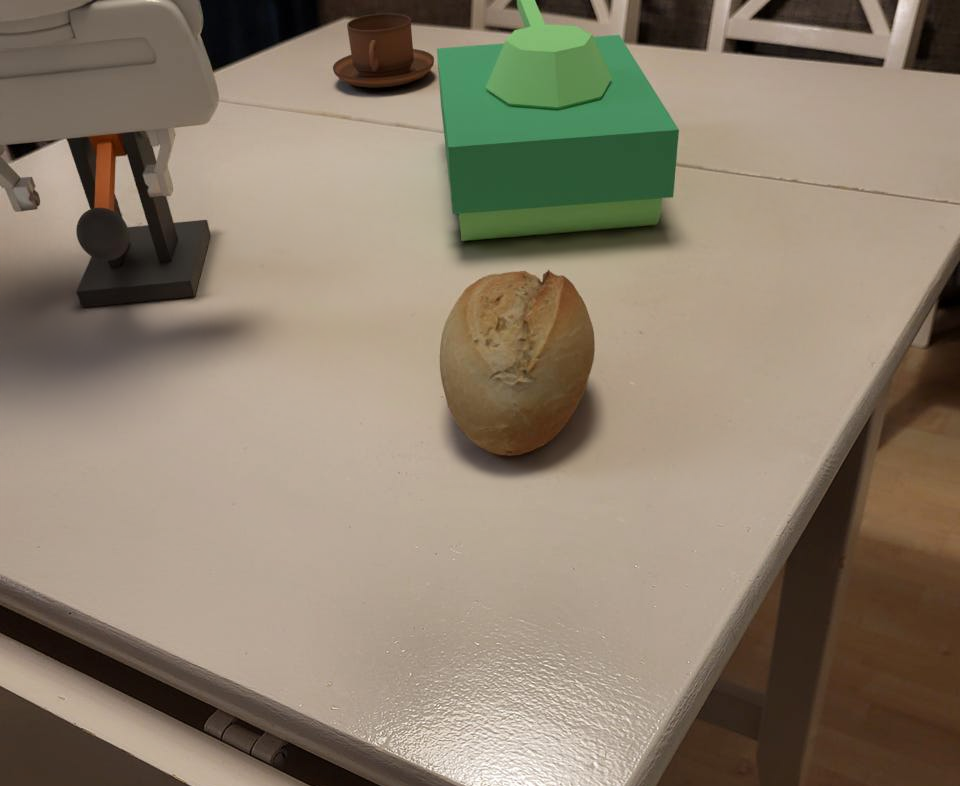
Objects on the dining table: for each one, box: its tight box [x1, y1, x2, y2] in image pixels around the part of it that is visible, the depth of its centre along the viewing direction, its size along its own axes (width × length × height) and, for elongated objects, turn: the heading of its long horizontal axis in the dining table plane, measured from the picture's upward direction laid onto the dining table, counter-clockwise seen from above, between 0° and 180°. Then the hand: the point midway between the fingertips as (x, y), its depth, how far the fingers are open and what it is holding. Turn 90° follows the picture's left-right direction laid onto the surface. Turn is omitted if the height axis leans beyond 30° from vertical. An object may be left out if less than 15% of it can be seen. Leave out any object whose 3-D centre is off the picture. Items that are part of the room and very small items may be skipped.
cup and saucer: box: [332, 12, 435, 89], centre depth 114 cm, size 12×12×6 cm
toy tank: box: [436, 0, 680, 242], centre depth 88 cm, size 18×12×35 cm
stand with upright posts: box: [66, 131, 211, 308], centre depth 77 cm, size 12×9×13 cm
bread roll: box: [439, 269, 596, 457], centre depth 61 cm, size 10×15×8 cm, turn 178°
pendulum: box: [76, 133, 130, 261], centre depth 72 cm, size 13×4×4 cm, turn 5°
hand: (95, 201), depth 69 cm, fingers open, 8 cm apart
